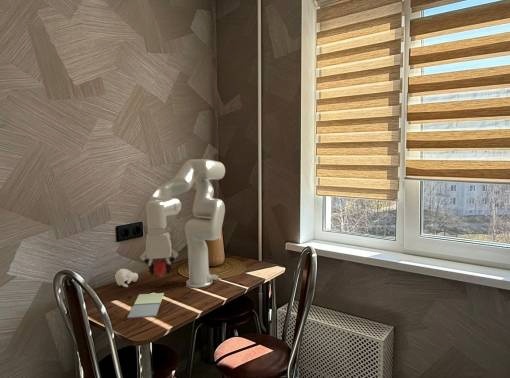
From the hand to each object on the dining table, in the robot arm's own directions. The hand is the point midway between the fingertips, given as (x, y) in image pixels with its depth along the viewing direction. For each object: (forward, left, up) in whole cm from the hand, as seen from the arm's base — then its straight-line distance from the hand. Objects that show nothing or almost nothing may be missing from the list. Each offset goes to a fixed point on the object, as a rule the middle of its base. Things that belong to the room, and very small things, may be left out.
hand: (160, 273), depth 162 cm
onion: (0, 0, -2) cm, 2 cm away
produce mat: (+7, -10, -15) cm, 19 cm away
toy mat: (+7, +2, -15) cm, 17 cm away
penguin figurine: (+21, -32, -15) cm, 41 cm away
